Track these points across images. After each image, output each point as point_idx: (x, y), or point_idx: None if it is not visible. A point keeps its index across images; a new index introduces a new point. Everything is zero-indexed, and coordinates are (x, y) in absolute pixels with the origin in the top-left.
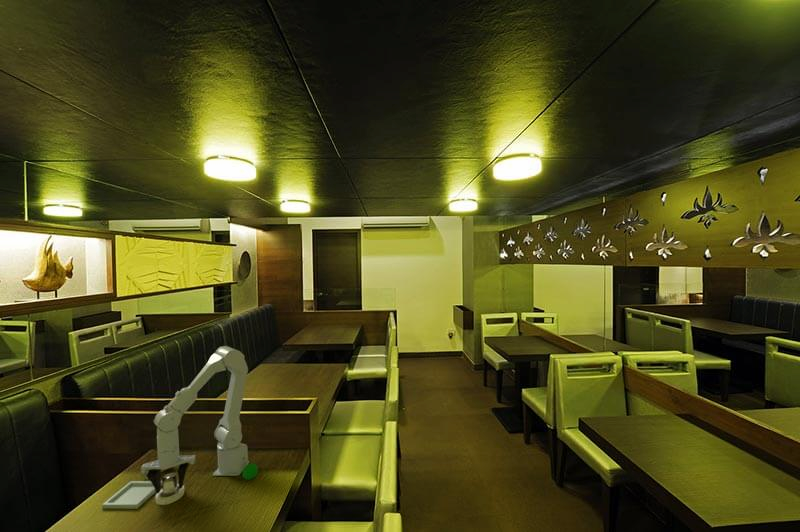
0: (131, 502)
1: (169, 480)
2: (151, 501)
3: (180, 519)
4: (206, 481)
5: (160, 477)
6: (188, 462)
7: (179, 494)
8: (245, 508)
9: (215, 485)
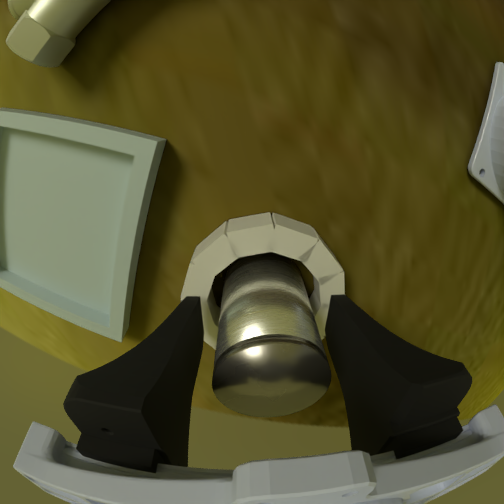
0: (74, 280)
1: (283, 412)
2: (168, 295)
3: (333, 412)
4: (439, 208)
5: (178, 340)
6: (449, 449)
7: (323, 331)
8: (477, 385)
9: (464, 263)
